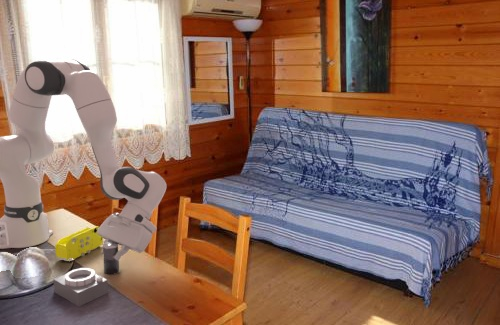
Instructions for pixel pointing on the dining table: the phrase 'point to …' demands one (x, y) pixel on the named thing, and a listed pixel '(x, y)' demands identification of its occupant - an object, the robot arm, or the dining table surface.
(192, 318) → the dining table surface
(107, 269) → the dark grey peg
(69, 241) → the yellow toy chassis
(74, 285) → the camera body
